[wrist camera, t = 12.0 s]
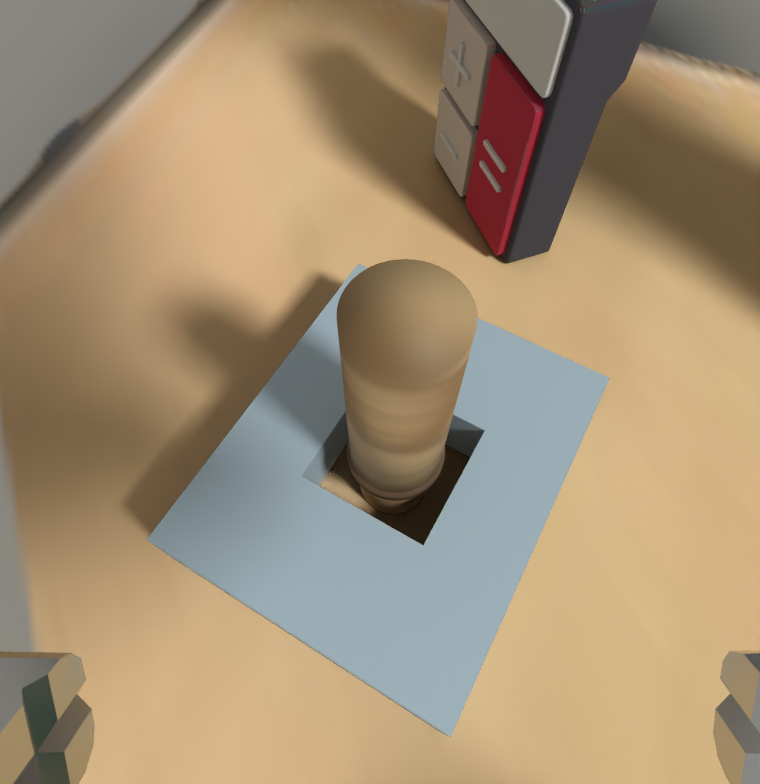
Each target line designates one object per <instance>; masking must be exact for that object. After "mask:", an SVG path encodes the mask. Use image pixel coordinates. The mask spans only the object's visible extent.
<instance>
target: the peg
mask: <svg viewBox="0 0 760 784" xmlns="http://www.w3.org/2000/svg"><path fill="white" fill-rule="evenodd" d="M336 314H337V328H338V338H339V348H340V358H341V367H342V377H343V387H344V397H345V407H346V416H347V426H348V436H349V437H348V441H347V460H348V465H349V468H350V471H351V473H352V475H353V477H354V479H355V480H356V481H357V483H358V484H359V485H360V489H361V492H362V494H363V496H364V498H365V499H366V501H367V502H368V503H369V504H370V505H371V506H372V507H374V508H375V509H377V510H379V511H382V512H385V513H391V514H397V513H403V512H406V511H408V510H410V509H412V508H414V507H415V506H416V505H417V504H418V503H419V502H420V501H421V500H422V498H423V497H424V495H425V492H426V491H427V490H428V489H429V488H430V487H431V486H432V485H433V484H434V483H435V481H436V480H437V478H438V477H439V475H440V472H441V470H442V467H443V463H444V459H445V443H446V439H447V435H448V431H449V428H450V424H451V420H452V417H453V413H454V409H455V406H456V402H457V398H458V395H459V391H460V387H461V384H462V380H463V376H464V373H465V369H466V365H467V362H468V358H469V354H470V351H471V347H472V343H473V340H474V336H475V332H476V328H477V310H476V305H475V302H474V299H473V297H472V295H471V294H470V292H469V290H468V289H467V288H466V286H465V285H464V284H463V283H462V282H461V281H460V280H459V279H458V278H457V277H456V276H454V275H453V274H452V273H450V272H449V271H447V270H445V269H443V268H441V267H439V266H437V265H434V264H431V263H428V262H424V261H418V260H408V259H403V260H392V261H386V262H383V263H379V264H376V265H374V266H371V267H369V268H368V269H366V270H364V271H362V272H361V273H359V274H358V275H357V276H356V277H354V278H353V279H352V280H351V281H350V283H349V284H348V285H347V286H346V288H345V289H344V291H343V292H342V294H341V297H340V299H339V302H338V306H337V313H336Z"/></svg>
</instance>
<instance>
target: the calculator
mask: <svg viewBox="0 0 760 784" xmlns="http://www.w3.org/2000/svg"><path fill="white" fill-rule="evenodd" d="M656 2H657V0H450V2H449V9H448V19H447V28H446V38H445V47H444V57H443V66H442V82H443V84H444V85H445V89H443V90H441V91H440V95H439V104H438V113H437V123H436V132H435V142H434V154H435V156H436V158H437V159H438V161H439V163H440V164H441V166H442V168H443V169H444V171H445V173H446V174H447V176H448V178H449V179H450V181H451V183H452V184H453V186H454V188H455V189H456V191H457V192H458V194H459V196H460V197H463V196H465V198H466V207H467V209H468V211H469V213H470V214H471V216H472V218H473V219H474V221H475V222H476V224H477V226H478V227H479V229H480V231H481V232H482V234H483V236H484V237H485V239H486V241H487V242H488V244H489V246H490V247H491V249H492V251H493V252H494V254H495V255H501V257H502V259H503V260H504V261H505V262H506V263H510V262H514V261H517V260H521V259H524V258H527V257H531V256H534V255H538V254H541V253H544V252H547V251H548V250H549V249H550V247H551V244H552V241H553V239H554V236H555V234H556V231H557V229H558V226H559V223H560V221H561V218H562V216H563V213H564V210H565V208H566V205H567V203H568V200H569V197H570V195H571V192H572V190H573V187H574V184H575V182H576V179H577V177H578V174H579V171H580V169H581V166H582V164H583V161H584V159H585V156H586V153H587V151H588V148H589V146H590V143H591V140H592V138H593V135H594V133H595V130H596V127H597V125H598V122H599V120H600V117H601V115H602V112H603V109H604V107H605V104H606V102H607V100H608V99H609V98H610V97H611V96H612V94H613V93H614V92H615V91H616V90H617V89H618V87H619V86H620V85H621V84H622V83H623V82H624V80H625V79H626V77H627V74H628V72H629V69H630V67H631V65H632V62H633V60H634V57H635V55H636V52H637V50H638V47H639V45H640V42H641V40H642V37H643V35H644V32H645V30H646V27H647V25H648V22H649V20H650V17H651V15H652V12H653V10H654V7H655V5H656Z"/></svg>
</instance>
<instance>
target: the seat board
mask: <svg viewBox="0 0 760 784" xmlns="http://www.w3.org/2000/svg"><path fill="white" fill-rule="evenodd" d="M366 269H368V268H367V267H365V266H362V265H360V264H358V265H357V266H356V268H355V269H354V270H353V272H352V273H351V274H350V275H349V277H348V278H347V279H346V281H345V282H344V283H343V285H342V286H341V287H340V288H339V290H338V291H337V292H336V294H335V295H334V296H333V298H332V299H331V300H330V301H329V303H328V304H327V305H326V307H325V308H324V309H323V311H322V312H321V313H320V314H319V316H318V317H317V318H316V320H315V321H314V322H313V324H312V325H311V326H310V327H309V329H308V330H307V331H306V333H305V334H304V335H303V337H302V338H301V339H300V341H299V342H298V343H297V344H296V346H295V347H294V348H293V350H292V351H291V352H290V354H289V355H288V356H287V357H286V359H285V360H284V361H283V363H282V364H281V365H280V367H279V368H278V369H277V370H276V372H275V373H274V374H273V376H272V377H271V378H270V380H269V381H268V382H267V383H266V385H265V386H264V387H263V389H262V390H261V391H260V393H259V394H258V395H257V396H256V398H255V399H254V400H253V402H252V403H251V404H250V406H249V407H248V408H247V409H246V411H245V412H244V413H243V415H242V416H241V417H240V419H239V420H238V421H237V423H236V424H235V425H234V426H233V428H232V429H231V430H230V432H229V433H228V434H227V436H226V437H225V438H224V439H223V441H222V442H221V443H220V445H219V446H218V447H217V449H216V450H215V451H214V452H213V454H212V455H211V456H210V458H209V459H208V460H207V462H206V463H205V464H204V465H203V467H202V468H201V469H200V471H199V472H198V473H197V475H196V476H195V477H194V478H193V480H192V481H191V482H190V484H189V485H188V486H187V488H186V489H185V490H184V491H183V493H182V494H181V495H180V497H179V498H178V499H177V501H176V502H175V503H174V504H173V506H172V507H171V508H170V510H169V511H168V512H167V514H166V515H165V516H164V518H163V519H162V520H161V521H160V523H159V524H158V525H157V527H156V528H155V529H154V531H153V532H152V533H151V534H150V536H149V537H148V538H147V540H148V541H149V542H150V543H152V544H153V545H155V546H156V547H158V548H159V549H160V550H162V551H163V552H165V553H166V554H168V555H169V556H170V557H172V558H173V559H175V560H176V561H178V562H179V563H181V564H183V565H184V566H186V567H187V568H189V569H190V570H192V571H193V572H195V573H196V574H198V575H200V576H201V577H203V578H204V579H206V580H207V581H209V582H210V583H212V584H213V585H215V586H216V587H218V588H220V589H221V590H223V591H224V592H226V593H227V594H229V595H230V596H232V597H233V598H235V599H236V600H238V601H240V602H241V603H243V604H244V605H246V606H247V607H249V608H250V609H252V610H253V611H255V612H256V613H258V614H260V615H261V616H263V617H264V618H266V619H267V620H269V621H270V622H272V623H273V624H275V625H276V626H278V627H280V628H281V629H283V630H284V631H286V632H287V633H289V634H290V635H292V636H293V637H295V638H296V639H298V640H300V641H301V642H303V643H304V644H306V645H307V646H309V647H310V648H312V649H313V650H315V651H316V652H318V653H320V654H321V655H323V656H324V657H326V658H327V659H329V660H330V661H332V662H333V663H335V664H336V665H338V666H340V667H341V668H343V669H344V670H346V671H347V672H349V673H350V674H352V675H353V676H355V677H356V678H358V679H360V680H361V681H363V682H364V683H366V684H367V685H369V686H370V687H372V688H373V689H375V690H377V691H378V692H380V693H381V694H383V695H384V696H386V697H387V698H389V699H390V700H392V701H393V702H395V703H397V704H398V705H400V706H401V707H403V708H404V709H406V710H407V711H409V712H410V713H412V714H413V715H415V716H417V717H418V718H420V719H421V720H423V721H424V722H426V723H427V724H429V725H430V726H432V727H433V728H435V729H437V730H438V731H440V732H441V733H443V734H445V735H447V736H449V737H451V735H452V732H453V730H454V728H455V726H456V723H457V721H458V719H459V717H460V714H461V712H462V710H463V708H464V705H465V703H466V701H467V699H468V696H469V694H470V692H471V690H472V687H473V685H474V683H475V680H476V678H477V676H478V674H479V671H480V669H481V667H482V665H483V662H484V660H485V658H486V656H487V653H488V651H489V649H490V647H491V644H492V642H493V640H494V638H495V635H496V633H497V631H498V629H499V626H500V624H501V622H502V620H503V617H504V615H505V613H506V611H507V608H508V606H509V604H510V601H511V599H512V597H513V595H514V592H515V590H516V588H517V586H518V583H519V581H520V579H521V577H522V574H523V572H524V570H525V568H526V565H527V563H528V561H529V559H530V556H531V554H532V552H533V550H534V547H535V545H536V543H537V541H538V538H539V536H540V534H541V531H542V529H543V527H544V525H545V522H546V520H547V518H548V516H549V513H550V511H551V509H552V507H553V504H554V502H555V500H556V498H557V495H558V493H559V491H560V489H561V486H562V484H563V482H564V480H565V477H566V475H567V473H568V471H569V468H570V466H571V464H572V461H573V459H574V457H575V455H576V452H577V450H578V448H579V446H580V443H581V441H582V439H583V437H584V434H585V432H586V430H587V428H588V425H589V423H590V421H591V419H592V416H593V414H594V412H595V410H596V407H597V405H598V403H599V401H600V398H601V396H602V394H603V392H604V389H605V387H606V385H607V382H608V380H609V378H608V377H606V376H604V375H602V374H600V373H597V372H595V371H593V370H591V369H589V368H587V367H584V366H582V365H580V364H578V363H576V362H573V361H571V360H569V359H567V358H565V357H562V356H560V355H558V354H556V353H554V352H551V351H549V350H547V349H545V348H543V347H540V346H538V345H536V344H534V343H532V342H529V341H527V340H525V339H523V338H521V337H518V336H516V335H514V334H512V333H510V332H507V331H505V330H503V329H501V328H499V327H496V326H494V325H492V324H490V323H488V322H485V321H483V320H481V319H479V318H477V328H476V332H475V336H474V340H473V343H472V347H471V351H470V354H469V358H468V362H467V365H466V369H465V373H464V376H463V380H462V384H461V387H460V391H459V395H458V398H457V402H456V406H455V409H454V413H453V417H452V420H451V424H450V428H449V431H448V435H447V439H446V443H445V445H447V446H449V447H451V448H453V449H455V450H457V451H459V452H461V453H463V454H465V455H467V456H469V457H470V459H469V461H468V463H467V465H466V467H465V469H464V470H463V472H462V474H461V476H460V478H459V480H458V482H457V484H456V485H455V487H454V489H453V491H452V493H451V495H450V497H449V498H448V500H447V502H446V504H445V506H444V508H443V510H442V512H441V513H440V515H439V517H438V519H437V521H436V523H435V525H434V526H433V528H432V530H431V532H430V534H429V536H428V538H427V540H426V541H425V543H424V545H422V544H420V543H418V542H416V541H415V540H413V539H411V538H409V537H408V536H406V535H404V534H402V533H400V532H399V531H397V530H395V529H393V528H392V527H390V526H388V525H386V524H385V523H383V522H381V521H379V520H378V519H376V518H374V517H372V516H371V515H369V514H367V513H365V512H364V511H362V510H360V509H358V508H357V507H355V506H353V505H351V504H350V503H348V502H346V501H344V500H343V499H341V498H339V497H337V496H336V495H334V494H332V493H330V492H329V491H327V490H325V489H323V488H322V487H320V484H321V483H322V481H323V480H324V478H325V477H326V475H327V473H328V472H329V470H330V469H331V467H332V466H333V464H334V463H335V461H336V460H337V458H338V457H339V455H340V454H341V452H342V451H343V449H344V447H345V446H346V444H347V441H348V437H349V436H348V426H347V416H346V407H345V397H344V387H343V377H342V367H341V358H340V348H339V338H338V328H337V314H336V313H337V306H338V302H339V299H340V297H341V294H342V292H343V291H344V289H345V288H346V286H347V285H348V284H349V283H350V281H351V280H352V279H353V278H354V277H356V276H357V275H358V274H359V273H361V272H362V271H364V270H366Z"/></svg>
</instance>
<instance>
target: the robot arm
mask: <svg viewBox="0 0 760 784" xmlns="http://www.w3.org/2000/svg"><path fill="white" fill-rule="evenodd" d="M720 679H721V681H722V682H723V683H724V685H725V686H726V688H727V689H728V691H729V692H730V693H731V694H730V695H729V696H728V697H727V698H726V699H725V700H724V701H723V702H722V703H721V704H720V705H719V706H718V707H717V708H716V710H715V720H714V730H713V733H714V739H715V744H716V749H717V754H718V758H719V761H720V763H721V766H722V768H723V770H724V773H725V775H726V778H727V779H728V781H729V783H730V784H760V651H729V653H728V654H727V656H726V657H725V659H724V660H723V664H722V670H721V676H720ZM85 681H86V677H85V673H84V669H83V664H82V660H81V658H80V657H78V656H76V655H74V654H72V653H50V652H1V651H0V784H79V782H80V780H81V779H82V777H83V775H84V773H85V771H86V768H87V765H88V761H89V758H90V755H91V751H92V748H93V742H94V720H93V714H92V709H91V708H90V707H89V706H88V705H87V704H86V703H85V702H84V701H83V700H82V699H81V698H80V697H79V696H78V695H77V694H78V692H79V690H80V689H81V687H82V686H83V684H84V683H85Z"/></svg>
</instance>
